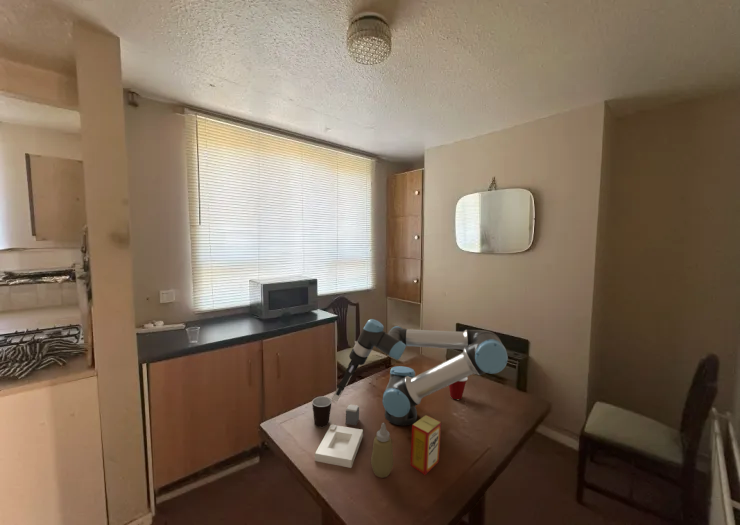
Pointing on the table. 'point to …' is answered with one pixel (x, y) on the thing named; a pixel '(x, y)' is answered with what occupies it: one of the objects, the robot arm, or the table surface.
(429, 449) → the baking soda box
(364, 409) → the table surface
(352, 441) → the socket plate
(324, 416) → the coffee mug
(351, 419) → the plug
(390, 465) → the squeeze bottle
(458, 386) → the plastic cup
